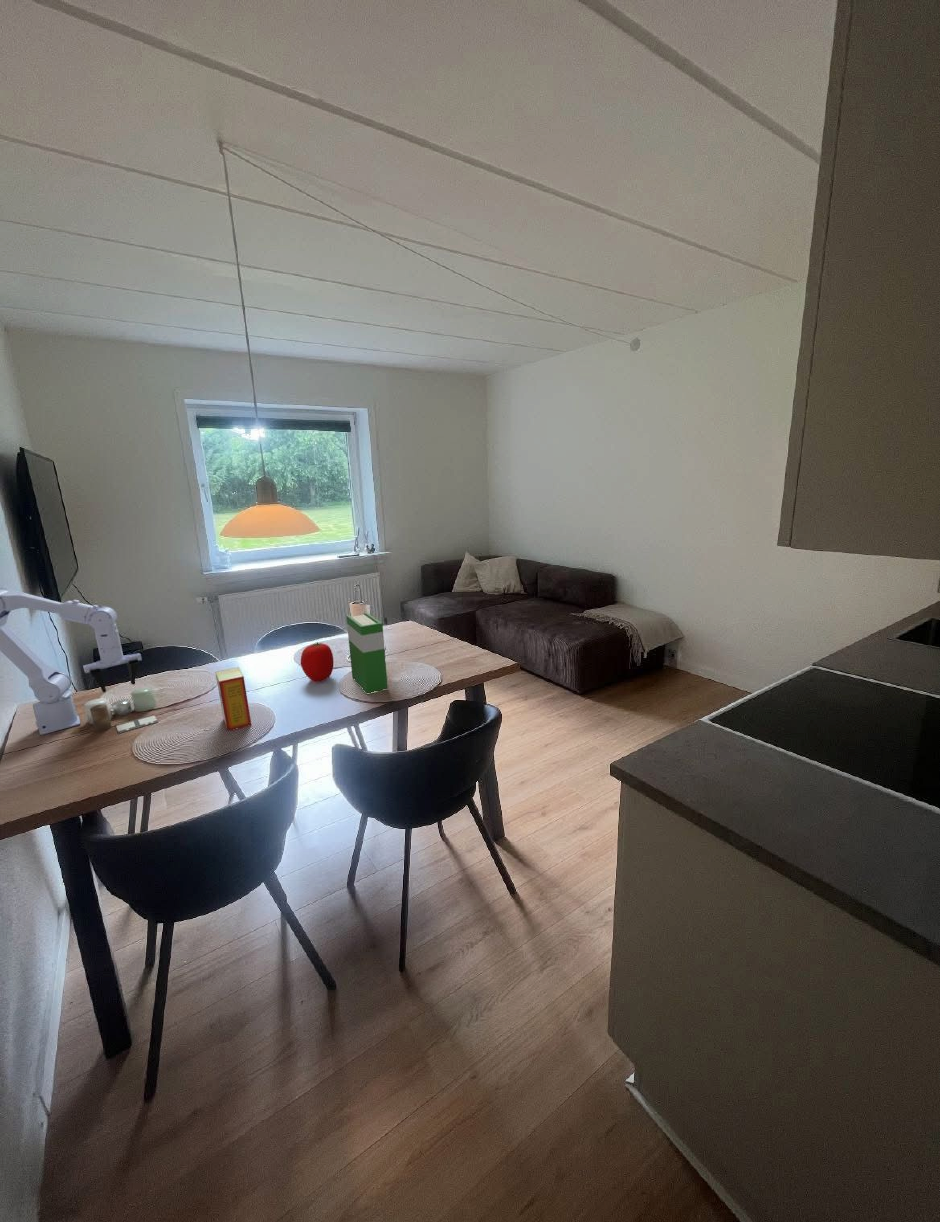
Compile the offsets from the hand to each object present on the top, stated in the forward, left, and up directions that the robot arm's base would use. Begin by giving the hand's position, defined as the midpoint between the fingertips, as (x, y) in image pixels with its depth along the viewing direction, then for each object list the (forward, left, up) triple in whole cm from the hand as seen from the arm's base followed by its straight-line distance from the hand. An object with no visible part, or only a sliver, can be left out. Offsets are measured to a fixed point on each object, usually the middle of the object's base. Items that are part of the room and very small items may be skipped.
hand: (118, 687), depth 153 cm
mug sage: (+6, +1, -10) cm, 11 cm away
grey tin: (0, +2, -10) cm, 10 cm away
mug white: (-6, +1, -10) cm, 11 cm away
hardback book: (+69, -35, -10) cm, 78 cm away
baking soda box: (+25, -32, -10) cm, 41 cm away
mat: (+2, -11, -9) cm, 14 cm away
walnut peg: (-6, -7, -9) cm, 13 cm away
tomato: (+58, -18, -10) cm, 61 cm away
